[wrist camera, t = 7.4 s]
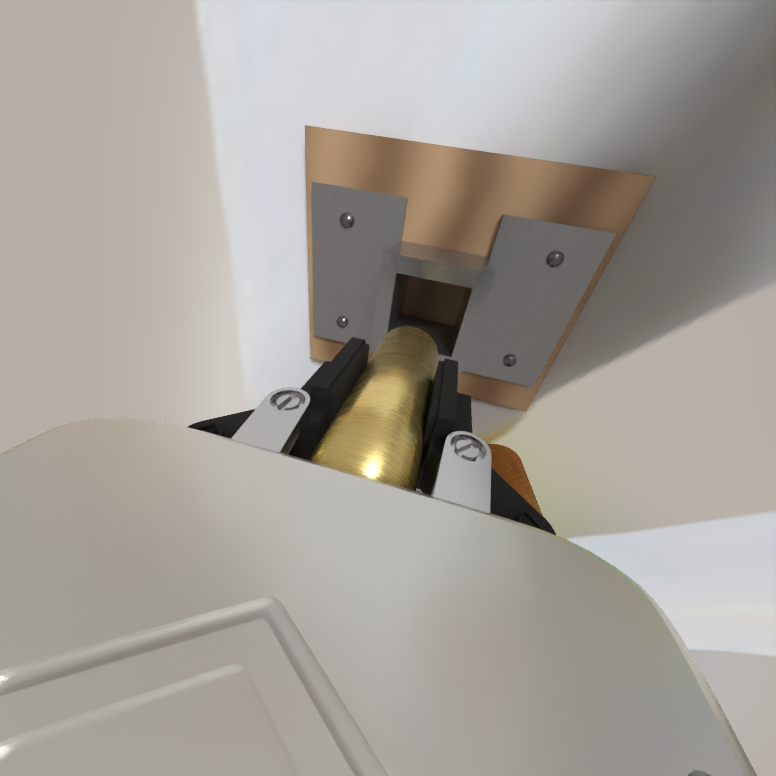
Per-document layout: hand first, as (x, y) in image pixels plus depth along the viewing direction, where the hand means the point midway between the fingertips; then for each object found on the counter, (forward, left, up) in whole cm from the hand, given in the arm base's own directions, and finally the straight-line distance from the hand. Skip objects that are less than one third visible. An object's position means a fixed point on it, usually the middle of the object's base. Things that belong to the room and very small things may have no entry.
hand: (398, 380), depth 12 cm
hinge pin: (0, 0, -3) cm, 3 cm away
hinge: (0, 0, -14) cm, 14 cm away
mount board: (0, 0, -15) cm, 15 cm away
